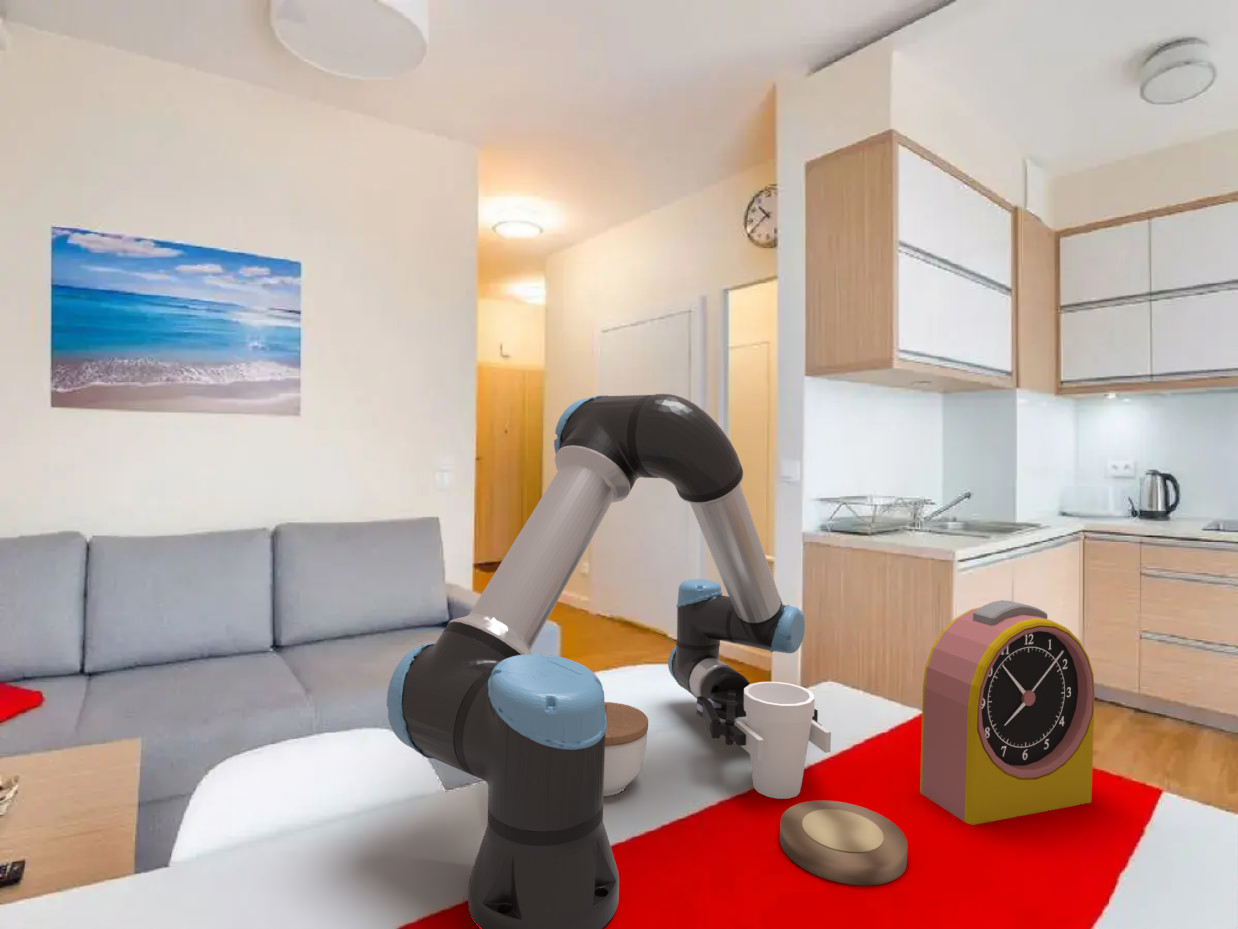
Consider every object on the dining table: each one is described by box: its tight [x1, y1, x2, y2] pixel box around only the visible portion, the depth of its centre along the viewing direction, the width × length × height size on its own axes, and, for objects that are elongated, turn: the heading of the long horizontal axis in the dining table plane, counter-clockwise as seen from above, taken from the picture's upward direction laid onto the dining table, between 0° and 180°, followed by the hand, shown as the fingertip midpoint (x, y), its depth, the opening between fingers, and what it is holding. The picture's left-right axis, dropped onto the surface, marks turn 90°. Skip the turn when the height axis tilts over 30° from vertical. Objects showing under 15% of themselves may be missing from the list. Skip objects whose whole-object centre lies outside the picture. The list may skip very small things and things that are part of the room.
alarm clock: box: [919, 599, 1096, 826], centre depth 93 cm, size 21×9×26 cm, turn 108°
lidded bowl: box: [603, 701, 649, 798], centre depth 95 cm, size 13×13×11 cm
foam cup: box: [744, 681, 816, 800], centre depth 95 cm, size 10×9×13 cm
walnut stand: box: [779, 800, 908, 886], centre depth 80 cm, size 14×14×2 cm
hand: (795, 746), depth 90 cm, fingers closed on foam cup, 9 cm apart
